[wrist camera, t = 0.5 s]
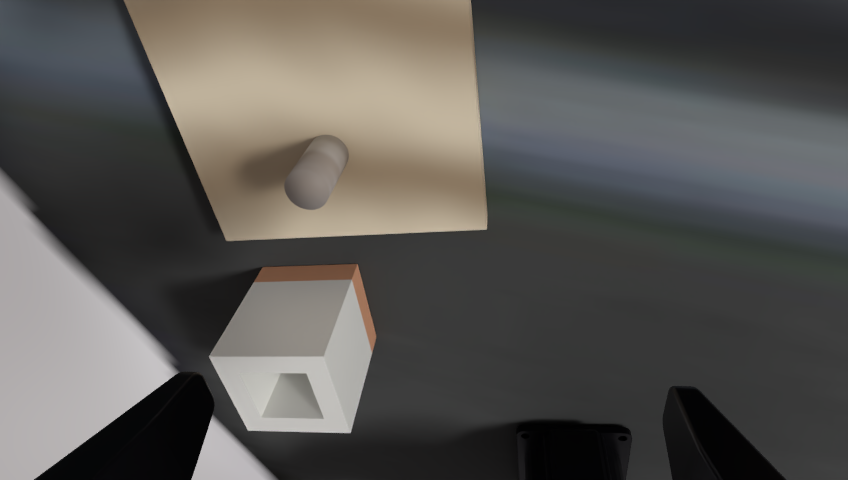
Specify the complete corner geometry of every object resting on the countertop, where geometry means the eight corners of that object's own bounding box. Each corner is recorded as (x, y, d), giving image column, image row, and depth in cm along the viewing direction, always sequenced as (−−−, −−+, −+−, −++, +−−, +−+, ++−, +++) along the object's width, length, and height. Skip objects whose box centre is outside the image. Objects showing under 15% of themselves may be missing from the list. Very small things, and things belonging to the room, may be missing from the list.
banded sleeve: (376, 336, 28) (350, 433, 23) (290, 337, 29) (248, 430, 24) (357, 263, 25) (323, 356, 21) (262, 266, 26) (208, 356, 21)
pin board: (487, 214, 23) (484, 274, 19) (237, 226, 25) (195, 282, 22) (439, -403, 13) (417, -503, 9) (26, -296, 15) (-115, -344, 11)
